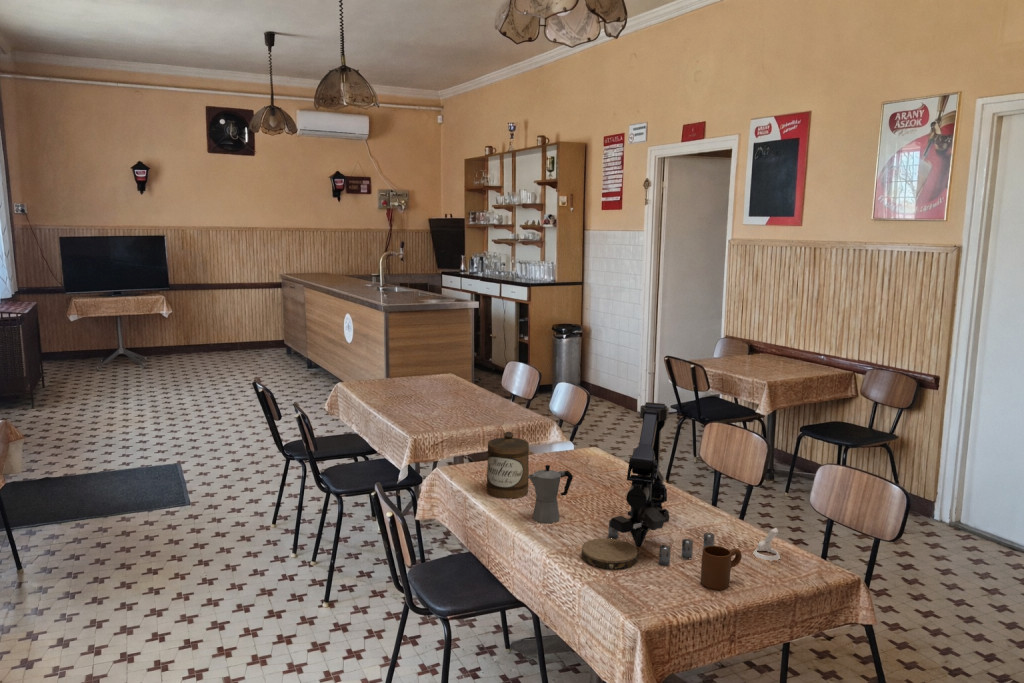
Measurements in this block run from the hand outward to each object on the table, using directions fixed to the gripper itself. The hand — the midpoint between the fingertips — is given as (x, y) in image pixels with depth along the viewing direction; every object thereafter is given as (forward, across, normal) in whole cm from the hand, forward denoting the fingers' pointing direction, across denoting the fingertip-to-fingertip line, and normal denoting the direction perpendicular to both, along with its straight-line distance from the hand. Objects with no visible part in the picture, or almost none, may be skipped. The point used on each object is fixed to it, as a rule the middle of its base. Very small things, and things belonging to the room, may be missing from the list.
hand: (638, 546), depth 225 cm
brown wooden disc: (+1, -12, 0) cm, 12 cm away
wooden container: (+1, -7, +61) cm, 62 cm away
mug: (+1, +5, -28) cm, 28 cm away
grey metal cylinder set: (+1, +8, 0) cm, 8 cm away
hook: (+1, +30, -22) cm, 37 cm away
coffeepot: (+1, -9, +33) cm, 34 cm away
